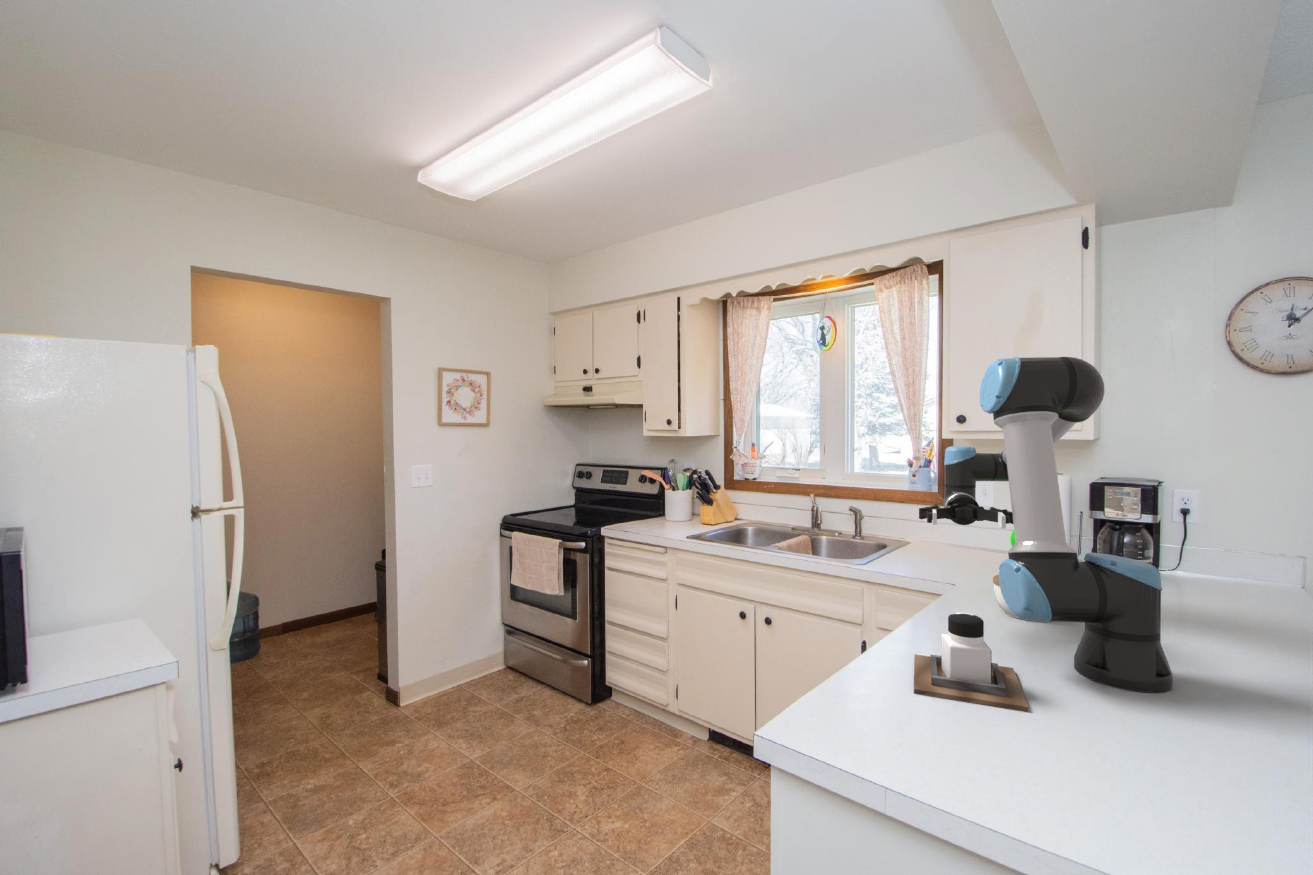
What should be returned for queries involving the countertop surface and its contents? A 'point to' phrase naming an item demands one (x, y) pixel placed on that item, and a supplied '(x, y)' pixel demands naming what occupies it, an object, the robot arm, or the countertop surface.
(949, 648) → the medicine bottle
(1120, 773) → the countertop surface
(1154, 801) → the countertop surface
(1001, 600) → the lidded bowl
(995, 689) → the dock
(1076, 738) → the countertop surface
